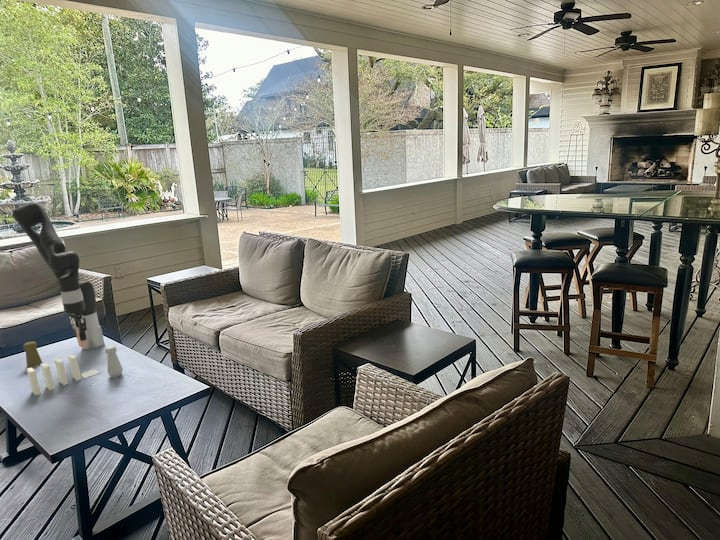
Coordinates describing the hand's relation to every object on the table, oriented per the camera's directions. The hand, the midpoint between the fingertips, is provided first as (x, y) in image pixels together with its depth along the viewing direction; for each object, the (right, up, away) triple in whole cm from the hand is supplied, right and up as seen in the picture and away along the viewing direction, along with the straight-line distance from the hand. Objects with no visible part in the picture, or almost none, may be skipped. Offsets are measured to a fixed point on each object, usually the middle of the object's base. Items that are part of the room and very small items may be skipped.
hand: (81, 338), depth 208 cm
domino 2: (-9, -19, -6) cm, 22 cm away
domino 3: (-6, -18, -3) cm, 19 cm away
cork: (-31, -15, +18) cm, 39 cm away
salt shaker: (+14, -16, +1) cm, 21 cm away
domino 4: (0, -3, +1) cm, 3 cm away
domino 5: (-2, -17, +1) cm, 17 cm away
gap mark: (+1, -16, +4) cm, 16 cm away
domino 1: (-12, -20, -10) cm, 26 cm away
